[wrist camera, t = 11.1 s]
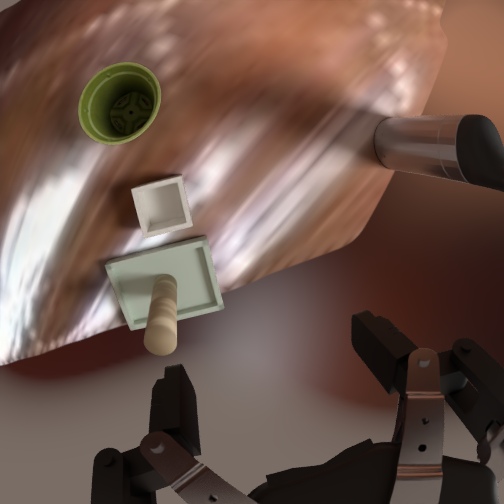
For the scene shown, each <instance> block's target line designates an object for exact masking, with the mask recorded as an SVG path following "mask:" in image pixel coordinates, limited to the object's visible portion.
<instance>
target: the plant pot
mask: <svg viewBox="0 0 504 504" xmlns="http://www.w3.org/2000/svg"><path fill="white" fill-rule="evenodd" d="M124 98H126V100H125V101H124V102H122V103H121V104H120V105H119V103H120V101H121V100H122V99H124ZM142 98H144V99H145V100H146V101H147V102H148V105H146V104H145V102H144V101H143V100H142ZM160 103H161V88H160V85H159V82H158V80H157V78H156V76H155V75H154V74H153V73H152V72H151V71H150V70H149V69H148V68H146V67H145V66H143V65H140V64H137V63H132V62H122V63H116V64H113V65H110V66H108V67H106V68H104V69H102V70H101V71H99V72H98V73H97V74H96V75H95V76H94V77H93V78H92V79H91V80H90V81H89V82H88V83H87V85H86V86H85V88H84V90H83V92H82V94H81V97H80V100H79V105H78V116H79V121H80V124H81V127H82V128H83V130H84V131H85V133H86V134H87V135H88V136H89V137H90V138H91V139H93V140H94V141H96V142H98V143H101V144H106V145H119V144H123V143H126V142H129V141H131V140H133V139H135V138H137V137H138V136H140V135H141V134H142V133H143V132H144V131H145V130H146V129H147V128H148V127H149V126H150V125H151V123H152V122H153V120H154V119H155V117H156V115H157V113H158V110H159V108H160ZM130 111H132V112H133V114H131V115H130V113H129V112H130ZM115 121H117V122H118V123H119V125H120V126H122V128H119V127H118V126H117V125H116V123H115ZM144 121H145V125H143V126H142V127H141V128H139V129H137V127H138V126H140V125H141V124H142V123H143V122H144Z"/></svg>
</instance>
